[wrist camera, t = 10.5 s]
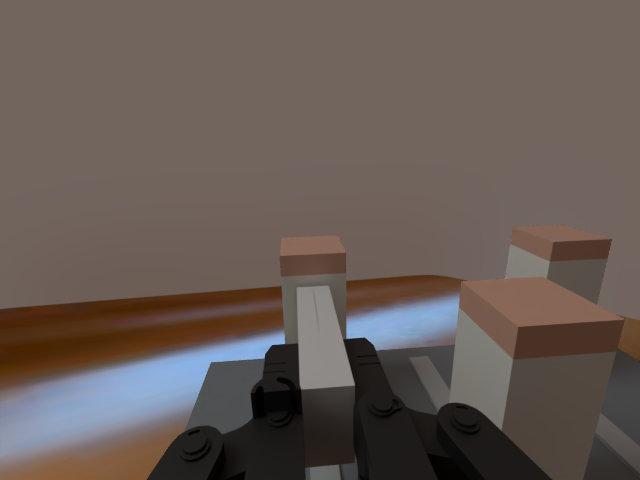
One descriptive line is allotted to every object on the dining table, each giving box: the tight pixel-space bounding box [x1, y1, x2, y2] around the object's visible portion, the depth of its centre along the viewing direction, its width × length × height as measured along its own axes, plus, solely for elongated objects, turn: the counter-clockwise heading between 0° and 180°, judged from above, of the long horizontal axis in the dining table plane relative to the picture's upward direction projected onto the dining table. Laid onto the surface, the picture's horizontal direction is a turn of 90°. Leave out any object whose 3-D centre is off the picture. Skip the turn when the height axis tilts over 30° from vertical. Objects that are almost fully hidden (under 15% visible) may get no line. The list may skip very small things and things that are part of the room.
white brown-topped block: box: [280, 235, 346, 344], centre depth 17 cm, size 3×3×8 cm
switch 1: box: [505, 225, 612, 305], centre depth 18 cm, size 3×3×8 cm
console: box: [185, 345, 640, 480], centre depth 15 cm, size 26×14×2 cm, turn 95°
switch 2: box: [449, 277, 625, 480], centre depth 11 cm, size 3×3×8 cm
